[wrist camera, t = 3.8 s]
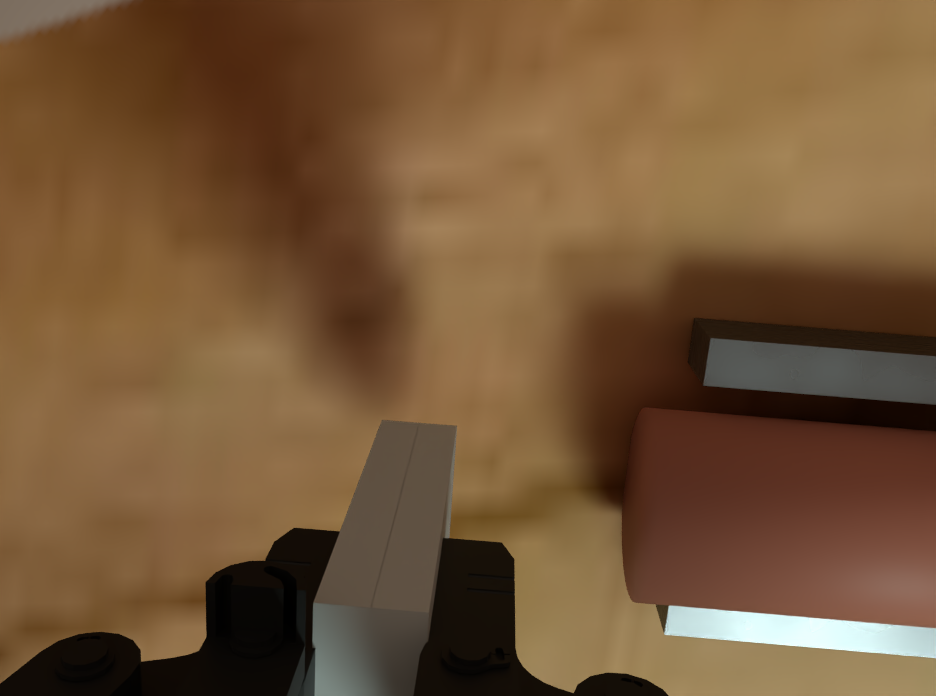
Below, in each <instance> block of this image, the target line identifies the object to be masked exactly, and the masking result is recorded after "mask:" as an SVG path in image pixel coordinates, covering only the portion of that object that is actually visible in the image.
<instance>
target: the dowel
mask: <svg viewBox="0 0 936 696" xmlns="http://www.w3.org/2000/svg"><path fill="white" fill-rule="evenodd" d="M622 554H623V567H624V575H625V582H626V586H627V590H628V593H629V596H630V598H631V600H632V601H633V602H635V603H646V604H658V605H670V606H681V607H693V608H704V609H716V610H728V611H739V612H751V613H762V614H774V615H786V616H797V617H809V618H820V619H832V620H844V621H855V622H867V623H878V624H890V625H901V626H913V627H925V628H936V431H926V430H914V429H902V428H890V427H878V426H866V425H854V424H841V423H829V422H817V421H805V420H793V419H781V418H769V417H757V416H745V415H732V414H720V413H708V412H696V411H684V410H672V409H660V408H648V407H644V408H642V409H641V411H640V412H639V414H638V416H637V418H636V421H635V424H634V427H633V431H632V435H631V442H630V449H629V456H628V464H627V471H626V479H625V486H624V494H623V506H622Z"/></svg>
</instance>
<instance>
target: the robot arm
mask: <svg viewBox="0 0 936 696" xmlns="http://www.w3.org/2000/svg"><path fill="white" fill-rule="evenodd" d="M456 432H457V426H452V425H439V424H426V423H414V422H401V421H389V420H382V421H381V424H380V426H379V429H378V432H377V434H376V437H375V440H374V442H373V445H372V448H371V450H370V453H369V456H368V458H367V461H366V464H365V466H364V469H363V472H362V474H361V477H360V480H359V482H358V485H357V488H356V490H355V493H354V496H353V498H352V501H351V504H350V506H349V509H348V512H347V514H346V517H345V520H344V522H343V525H342V528H341V530H340V532H339V531H327V530H315V529H302V528H293V529H292V530H290V531H289V532H288V533H286V534H285V535H283V536H282V537H280V538H279V539H278V540H276V541H275V542H274V543H273V545H272V547H271V549H270V551H269V553H268V555H267V557H266V561H248V562H243V563H239V564H234V565H230V566H228V567H226V568H224V569H222V570H220V571H218V572H216V573H215V574H214V575H213V576H212V577H211V578H210V579H209V580H208V581H207V582H206V630H207V637H206V639H205V641H204V643H203V645H202V646H201V648H200V650H199V651H198V652H195V653H192V654H189V655H185V656H180V657H175V658H168V659H160V660H152V661H144V662H141V651H140V649H139V648H138V646H137V645H136V644H135V642H134V641H133V640H131V639H129V638H127V637H124V636H122V635H120V634H114V633H105V632H93V633H85V634H78V635H75V636H72V637H69V638H66V639H63V640H60V641H58V642H56V643H54V644H53V645H51V646H49V647H48V648H46V649H44V650H43V651H41V652H40V653H38V654H37V655H36V656H35V657H33V658H32V659H31V660H30V661H28V662H27V663H26V664H25V665H23V666H22V667H21V668H20V669H18V670H17V671H16V672H15V673H13V674H12V675H11V676H10V677H8V678H7V679H6V680H5V681H3V682H2V683H1V684H0V696H668V695H667V693H666V692H665V691H664V690H663V689H661V688H659V687H658V686H656V685H654V684H653V683H651V682H649V681H647V680H645V679H642V678H639V677H635V676H632V675H629V674H620V673H604V674H599V675H594V676H590V677H589V678H587V679H586V680H584V681H583V682H581V683H580V684H578V685H577V687H576V690H575V692H574V693H571V692H568V691H565V690H561V689H558V688H556V687H553V686H551V685H548V684H546V683H544V682H542V681H540V680H539V679H537V678H535V677H534V676H532V675H531V674H530V673H529V672H528V671H527V670H526V669H525V668H524V667H523V666H522V664H521V663H520V661H519V659H518V657H517V654H516V649H515V595H514V594H515V581H514V558H513V557H512V556H511V554H510V553H509V552H508V550H507V549H506V548H505V546H504V545H503V544H502V543H500V542H488V541H475V540H463V539H451V538H449V534H450V519H451V505H452V490H453V476H454V461H455V447H456Z"/></svg>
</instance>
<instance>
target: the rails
mask: <svg viewBox="0 0 936 696" xmlns="http://www.w3.org/2000/svg"><path fill="white" fill-rule="evenodd" d="M688 363H689V365H690V366H691V368H692V369H693V371H694V372H695V374H696V375H697V377H698V378H699V380H700V382H701V383H702V385H703V386H713V387H725V388H738V389H750V390H762V391H774V392H786V393H799V394H811V395H823V396H835V397H848V398H860V399H872V400H884V401H896V402H909V403H921V404H933V405H936V338H934V337H922V336H909V335H897V334H885V333H872V332H860V331H848V330H835V329H823V328H810V327H798V326H786V325H773V324H761V323H748V322H736V321H724V320H711V319H699V318H694V324H693V330H692V337H691V344H690V350H689V357H688ZM656 607H657V611H658V614H659V618H660V621H661V624H662V628H663V631H664V635H676V636H687V637H699V638H711V639H722V640H734V641H745V642H757V643H768V644H780V645H792V646H803V647H815V648H826V649H838V650H849V651H861V652H873V653H884V654H896V655H907V656H919V657H930V658H936V628H925V627H913V626H901V625H890V624H878V623H867V622H855V621H844V620H832V619H820V618H809V617H797V616H786V615H774V614H762V613H751V612H739V611H728V610H716V609H704V608H693V607H681V606H670V605H658V604H656Z"/></svg>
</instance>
